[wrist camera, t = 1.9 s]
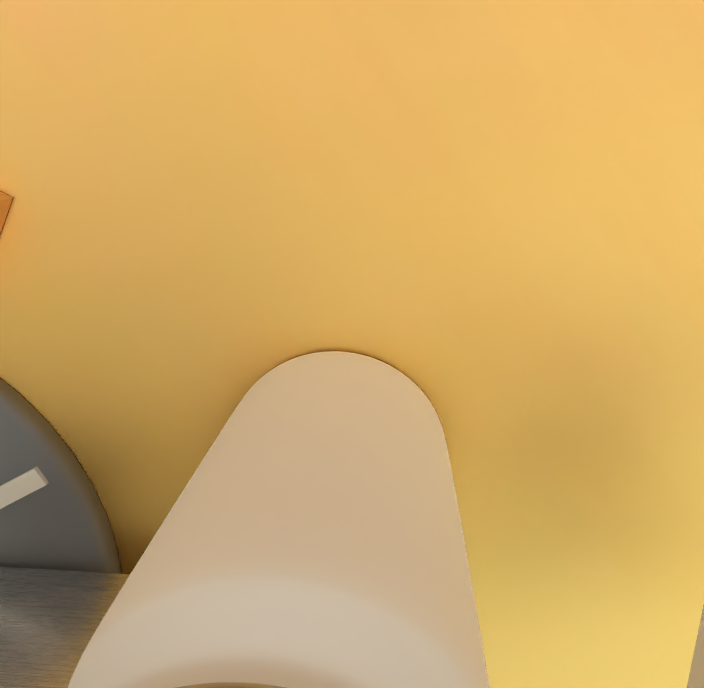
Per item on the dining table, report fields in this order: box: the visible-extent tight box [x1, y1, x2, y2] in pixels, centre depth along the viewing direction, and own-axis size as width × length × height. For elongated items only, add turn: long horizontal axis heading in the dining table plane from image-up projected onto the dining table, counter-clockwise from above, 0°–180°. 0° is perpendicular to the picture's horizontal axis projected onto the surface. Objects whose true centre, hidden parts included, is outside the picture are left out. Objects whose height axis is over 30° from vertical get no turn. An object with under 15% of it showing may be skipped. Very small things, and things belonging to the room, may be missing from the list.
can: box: [68, 351, 490, 688], centre depth 14 cm, size 6×6×12 cm
